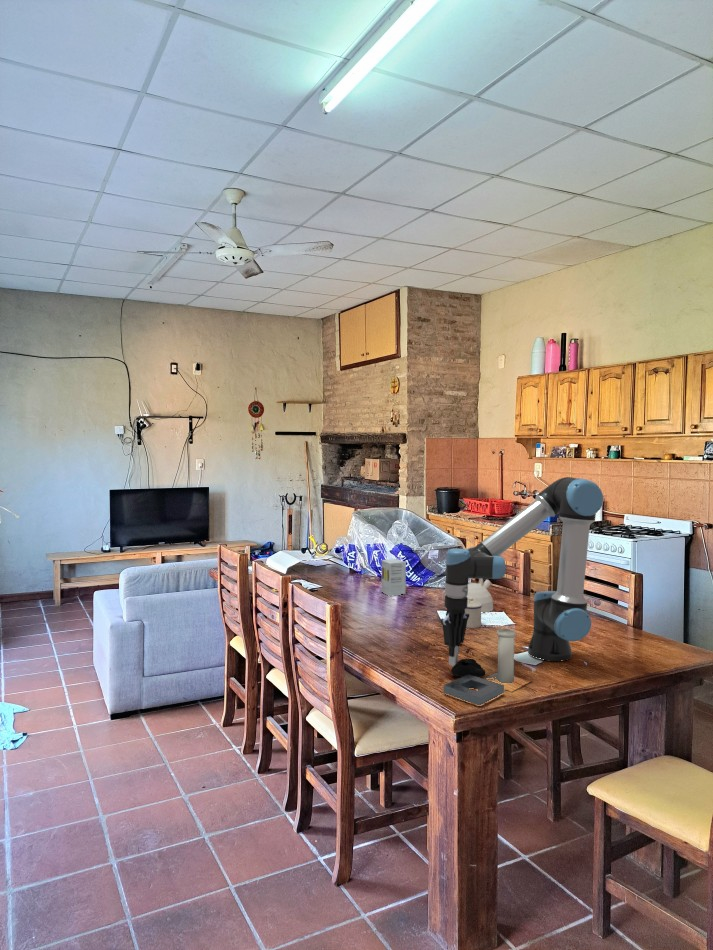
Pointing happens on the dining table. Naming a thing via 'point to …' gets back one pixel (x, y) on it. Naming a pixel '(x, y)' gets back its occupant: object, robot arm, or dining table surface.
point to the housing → (462, 691)
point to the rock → (467, 668)
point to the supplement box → (393, 577)
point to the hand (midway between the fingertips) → (453, 664)
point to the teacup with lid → (473, 613)
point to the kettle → (481, 594)
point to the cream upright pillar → (506, 655)
